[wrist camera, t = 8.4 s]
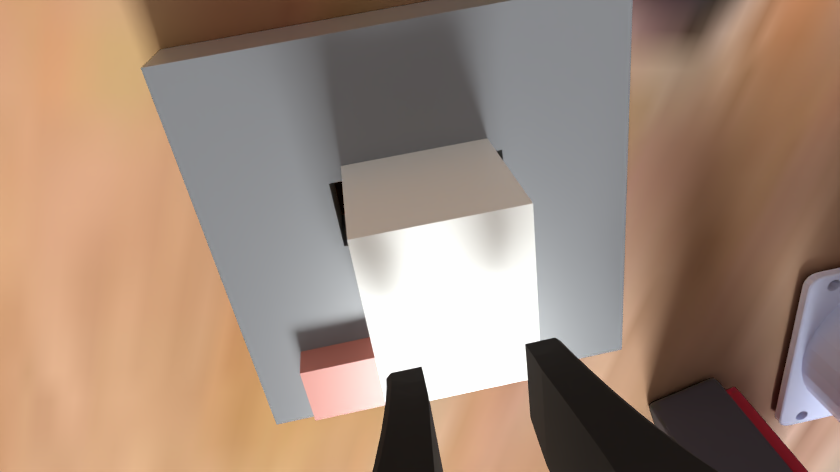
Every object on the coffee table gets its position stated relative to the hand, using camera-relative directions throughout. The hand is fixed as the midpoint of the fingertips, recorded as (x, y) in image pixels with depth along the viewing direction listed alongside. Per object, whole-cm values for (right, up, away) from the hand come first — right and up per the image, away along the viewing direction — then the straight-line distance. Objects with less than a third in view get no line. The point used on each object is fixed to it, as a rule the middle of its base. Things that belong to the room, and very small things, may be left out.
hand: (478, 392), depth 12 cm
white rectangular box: (-1, +4, +7) cm, 8 cm away
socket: (-1, +4, +7) cm, 8 cm away
